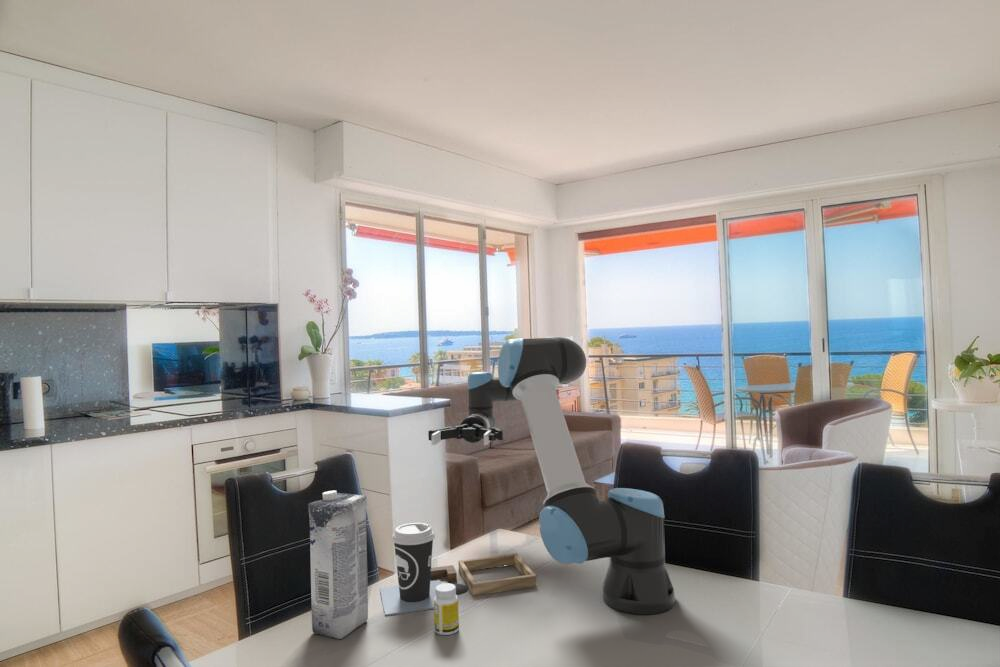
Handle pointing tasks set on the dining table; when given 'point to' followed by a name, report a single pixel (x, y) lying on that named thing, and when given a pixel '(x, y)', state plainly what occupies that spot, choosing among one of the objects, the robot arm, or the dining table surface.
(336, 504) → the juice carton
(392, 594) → the slate pad
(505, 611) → the dining table surface
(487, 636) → the dining table surface
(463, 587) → the dark grey round disc
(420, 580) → the coffee cup
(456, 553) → the dining table surface
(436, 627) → the supplement bottle
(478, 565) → the wooden square frame
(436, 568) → the walnut crook
